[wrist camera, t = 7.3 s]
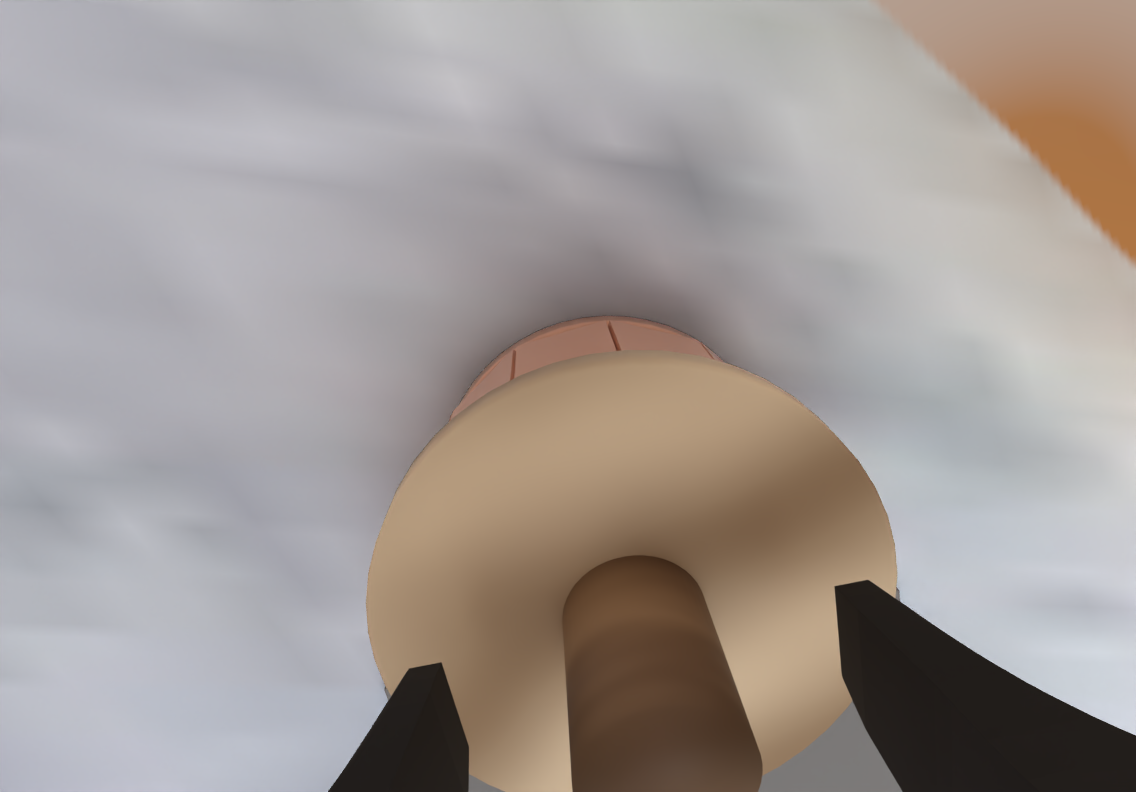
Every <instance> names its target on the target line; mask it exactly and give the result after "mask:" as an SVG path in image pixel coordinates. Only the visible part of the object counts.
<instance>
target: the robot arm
mask: <svg viewBox="0 0 1136 792" xmlns="http://www.w3.org/2000/svg"><path fill="white" fill-rule="evenodd" d="M834 587H835V600H836V612H837V624H838V636H839V648H840V660H841V673H842V678H843V680H844V682H845V685H846V687H847V689H848V691H849V694H850V696H851V698H852V701H853V703H854V705H855V707H856V709H857V712H858V714H859V716H860V718H861V720H862V722H863V725H864V727H865V729H866V731H867V733H868V734H869V736H870V738H871V739H872V741H873V743H874V745H875V746H876V748H877V750H878V751H879V753H880V755H881V756H882V758H883V760H884V761H885V763H886V765H887V767H888V768H889V770H890V772H891V773H892V775H893V777H894V778H895V780H896V782H897V783H898V785H899V787H900V788H901V790H902V792H1136V735H1133V734H1131V733H1129V732H1126V731H1124V730H1121V729H1119V728H1117V727H1115V726H1113V725H1110V724H1108V723H1106V722H1104V721H1102V720H1099V719H1097V718H1095V717H1093V716H1091V715H1089V714H1087V713H1085V712H1083V711H1081V710H1079V709H1077V708H1075V707H1073V706H1071V705H1069V704H1067V703H1065V702H1063V701H1061V700H1059V699H1057V698H1055V697H1053V696H1051V695H1049V694H1047V693H1045V692H1043V691H1041V690H1039V689H1038V688H1036V687H1034V686H1032V685H1030V684H1028V683H1026V682H1025V681H1023V680H1021V679H1020V678H1018V677H1016V676H1014V675H1013V674H1011V673H1009V672H1007V671H1006V670H1004V669H1002V668H1001V667H999V666H997V665H995V664H994V663H992V662H990V661H989V660H987V659H985V658H984V657H982V656H980V655H979V654H977V653H976V652H974V651H972V650H971V649H969V648H968V647H966V646H965V645H963V644H962V643H960V642H959V641H957V640H955V639H954V638H952V637H951V636H949V635H948V634H946V633H945V632H943V631H942V630H940V629H939V628H937V627H936V626H934V625H933V624H931V623H930V622H928V621H927V620H926V619H924V618H923V617H921V616H920V615H918V614H917V613H915V612H914V611H913V610H911V609H910V608H908V607H907V606H905V605H904V604H903V603H901V602H900V601H898V600H897V599H896V598H894V597H893V596H891V595H890V594H888V593H887V592H886V591H884V590H883V589H881V588H880V587H878V586H877V585H875V584H874V583H873V582H871V581H870V580H864V581H858V582H853V583H848V584H843V585H838V586H834ZM468 791H469V745H468V742H467V739H466V736H465V733H464V730H463V727H462V724H461V721H460V717H459V714H458V711H457V708H456V705H455V702H454V699H453V696H452V693H451V690H450V687H449V684H448V681H447V678H446V675H445V671H444V668H443V665H442V662H440V663H435V664H430V665H424V666H419V667H414V668H409V669H408V671H407V672H406V673H405V675H404V676H403V678H402V680H401V681H400V683H399V684H398V686H397V687H396V689H395V691H394V692H393V694H392V696H391V697H390V699H389V700H388V702H387V704H386V705H385V707H384V708H383V710H382V712H381V713H380V715H379V716H378V718H377V720H376V721H375V723H374V724H373V726H372V728H371V729H370V731H369V732H368V734H367V735H366V737H365V738H364V740H363V741H362V743H361V744H360V746H359V747H358V749H357V751H356V752H355V754H354V755H353V757H352V758H351V760H350V761H349V763H348V764H347V766H346V767H345V769H344V770H343V771H342V773H341V774H340V776H339V777H338V779H337V780H336V781H335V783H334V784H333V785H332V787H331V788H330V790H329V791H328V792H468Z"/></svg>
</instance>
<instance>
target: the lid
mask: <svg viewBox="0 0 1136 792" xmlns="http://www.w3.org/2000/svg"><path fill="white" fill-rule="evenodd" d="M864 580H870V581H871V582H873V583H874V584H875V585H877V586H878V587H880V588H881V589H883V590H884V591H886V592H887V593H888V594H890V595H891V596H893V597H894V598H896V584H897V565H896V553H895V543H894V539H893V535H892V531H891V527H890V523H889V519H888V515H887V513H886V511H885V509H884V506H883V504H882V502H881V499H880V497H879V495H878V492H877V490H876V488H875V486H874V484H873V483H872V481H871V480H870V478H869V477H868V475H867V473H866V472H865V470H864V469H863V467H862V466H861V464H860V462H859V461H858V460H857V459H856V458H855V456H854V455H853V454H852V453H851V452H850V451H849V450H848V448H847V447H846V446H845V445H844V444H843V443H842V442H841V441H840V439H839V438H838V437H837V436H836V435H835V434H834V433H833V432H832V431H831V430H830V429H829V428H828V427H827V426H826V425H825V424H824V423H823V422H822V421H821V420H820V419H819V418H818V417H817V416H816V415H815V414H814V413H813V412H811V411H810V410H809V409H808V408H807V407H805V406H804V405H803V404H802V403H801V402H799V401H798V400H797V399H796V398H795V397H793V396H792V395H790V394H789V393H787V392H785V391H784V390H782V389H780V388H779V387H777V386H776V385H774V384H772V383H771V382H769V381H767V380H766V379H764V378H762V377H759V376H757V375H755V374H752V373H750V372H748V371H745V370H743V369H741V368H739V367H736V366H734V365H731V364H727V363H724V362H720V361H716V360H713V359H709V358H706V357H702V356H698V355H691V354H684V353H677V352H670V351H663V350H622V351H613V352H603V353H594V354H588V355H584V356H579V357H575V358H571V359H567V360H563V361H559V362H554V363H552V364H549V365H546V366H544V367H541V368H538V369H536V370H533V371H530V372H528V373H525V374H522V375H520V376H518V377H516V378H514V379H512V380H510V381H508V382H506V383H505V384H503V385H501V386H499V387H497V388H495V389H493V390H491V391H489V392H488V393H486V394H485V395H483V396H482V397H481V398H479V399H478V400H476V401H475V402H474V403H472V404H471V405H469V406H468V407H467V408H465V409H464V410H462V411H461V412H459V413H458V414H457V415H456V416H455V417H454V418H453V419H452V420H451V421H450V422H449V423H448V424H447V425H445V426H444V427H443V428H442V429H441V430H440V431H439V432H438V433H437V434H436V435H435V436H434V437H433V438H432V439H431V441H430V442H429V443H428V444H427V445H426V447H425V448H424V449H423V450H422V452H421V453H420V454H419V455H418V457H417V458H416V459H415V460H414V461H413V463H412V465H411V466H410V468H409V470H408V471H407V473H406V475H405V476H404V478H403V480H402V481H401V483H400V485H399V487H398V488H397V490H396V493H395V495H394V498H393V500H392V502H391V505H390V507H389V510H388V512H387V515H386V517H385V520H384V522H383V525H382V528H381V530H380V533H379V535H378V538H377V541H376V544H375V548H374V552H373V556H372V560H371V564H370V568H369V573H368V584H367V596H366V610H367V623H368V634H369V638H370V642H371V646H372V650H373V654H374V658H375V662H376V664H377V667H378V669H379V672H380V674H381V676H382V679H383V681H384V684H385V686H386V688H387V690H388V691H389V693H390V695H391V696H392V694H393V692H394V691H395V689H396V687H397V686H398V684H399V683H400V681H401V680H402V678H403V676H404V675H405V673H406V672H407V671H408V669H409V668H414V667H419V666H424V665H430V664H435V663H440V662H442V665H443V668H444V671H445V675H446V678H447V681H448V684H449V687H450V690H451V693H452V696H453V699H454V702H455V705H456V708H457V711H458V714H459V717H460V721H461V724H462V727H463V730H464V733H465V736H466V739H467V742H468V745H469V774H470V775H472V776H474V777H476V778H477V779H479V780H481V781H483V782H485V783H486V784H488V785H490V786H493V787H495V788H498V789H500V790H502V791H505V792H758V791H759V788H760V785H761V780H762V776H763V775H765V774H767V773H768V772H770V771H772V770H774V769H776V768H778V767H779V766H781V765H782V764H784V763H785V762H787V761H788V760H790V759H791V758H792V757H794V756H795V755H797V754H798V753H800V752H801V751H803V750H804V749H805V748H806V747H808V746H809V745H810V744H811V743H812V742H813V741H815V740H816V739H817V738H818V737H819V736H820V735H821V734H823V733H824V732H825V731H826V730H827V729H828V728H829V727H830V726H831V725H832V724H833V723H834V722H835V721H836V719H837V718H838V717H839V716H840V715H841V714H842V713H843V712H844V711H845V710H846V709H847V707H848V706H849V705H850V703H851V702H852V698H851V696H850V694H849V691H848V689H847V687H846V685H845V682H844V680H843V678H842V673H841V660H840V648H839V636H838V624H837V612H836V600H835V587H834V586H838V585H843V584H848V583H853V582H858V581H864Z"/></svg>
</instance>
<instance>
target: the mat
mask: <svg viewBox="0 0 1136 792" xmlns="http://www.w3.org/2000/svg"><path fill="white" fill-rule="evenodd" d="M896 599H897V600H898V601H900V595H899V590H898V589H897V587H896ZM385 693H386V695H387V698H388V700H389V699H390V697H391V695H390V693H389V691H388V690H387V688H386V686H385ZM468 792H505V791H502V790H500V789H498V788H495V787H493V786H490V785H488V784H486V783H485V782H483V781H481V780H479V779H477V778H476V777H474V776H472V775H470V774H469V791H468ZM758 792H902V790H901V788H900V787H899V785H898V783H897V782H896V780H895V778H894V777H893V775H892V773H891V772H890V770H889V768H888V767H887V765H886V763H885V761H884V760H883V758H882V756H881V755H880V753H879V751H878V750H877V748H876V746H875V745H874V743H873V741H872V739H871V738H870V736H869V734H868V733H867V731H866V729H865V727H864V725H863V722H862V720H861V718H860V716H859V714H858V712H857V709H856V707H855V705H854V703H853V701H852V702H851V703H850V705H849V706H848V707H847V709H846V710H845V711H844V712H843V713H842V714H841V715H840V716H839V717H838V718H837V719H836V721H835V722H834V723H833V724H832V725H831V726H830V727H829V728H828V729H827V730H826V731H825V732H824V733H823V734H821V735H820V736H819V737H818V738H817V739H816V740H815V741H813V742H812V743H811V744H810V745H809V746H808V747H806V748H805V749H804V750H803V751H801V752H800V753H798V754H797V755H795V756H794V757H792V758H791V759H790V760H788V761H787V762H785V763H784V764H782V765H781V766H779V767H778V768H776V769H774V770H772V771H770V772H768V773H767V774H765V775H763V776H762V780H761V785H760V788H759V791H758Z"/></svg>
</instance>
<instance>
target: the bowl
mask: <svg viewBox="0 0 1136 792" xmlns="http://www.w3.org/2000/svg"><path fill="white" fill-rule="evenodd" d="M622 350H663V351H670V352H677V353H684V354H691V355H698V356H702V357H706V358H709V359H713V360H716V361H720V362H724V361H723V360H722V359H721V358H720V357H718V356H717V355H716V354H715V353H714V352H713V351H711V350H710V349H709V348H708V347H707V346H705V345H704V344H703V343H702V342H701V343H700V342H699V341H698V340H696V339H694V338H692V337H691V336H689V335H687V334H685V333H683V332H681V331H679V330H676V329H674V328H672V327H670V326H667V325H663V324H660V323H657V322H653V321H650V320H646V319H639V318H633V317H627V316H596V317H585V318H579V319H574V320H570V321H566V322H561V323H558V324H555V325H552V326H550V327H547V328H544V329H541V330H539V331H537V332H535V333H533V334H531V335H529V336H527V337H525V338H523V339H521V340H519V341H518V342H516V343H515V344H514V345H512V346H511V347H509V348H508V349H506V350H505V351H504V352H502V353H501V354H500V355H499V356H497V357H496V358H495V359H494V360H493V361H492V362H491V363H490V364H489V365H488V366H487V367H485V368H484V370H483V371H482V372H481V373H480V375H479V376H478V377H477V378H476V379H475V381H474V382H473V383H472V384H471V386H470V387H469V389H468V391H467V392H466V394H465V395H464V397H463V399H462V400H461V402H460V404H459V405H458V406H457V407H456V408H455V410H454V411H453V412H452V415H451V416H450V420H449V422H450V421H451V420H452V419H453V418H454V417H455V416H456V415H457V414H458V413H459V412H461V411H462V410H464V409H465V408H467V407H468V406H469V405H471V404H472V403H474V402H475V401H476V400H478V399H479V398H481V397H482V396H483V395H485V394H486V393H488V392H489V391H491V390H493V389H495V388H497V387H499V386H501V385H503V384H505V383H506V382H508V381H510V380H512V379H514V378H516V377H518V376H520V375H522V374H525V373H528V372H530V371H533V370H536V369H538V368H541V367H544V366H546V365H549V364H552V363H554V362H559V361H563V360H567V359H571V358H575V357H579V356H584V355H588V354H594V353H603V352H613V351H622ZM724 363H725V362H724Z"/></svg>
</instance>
